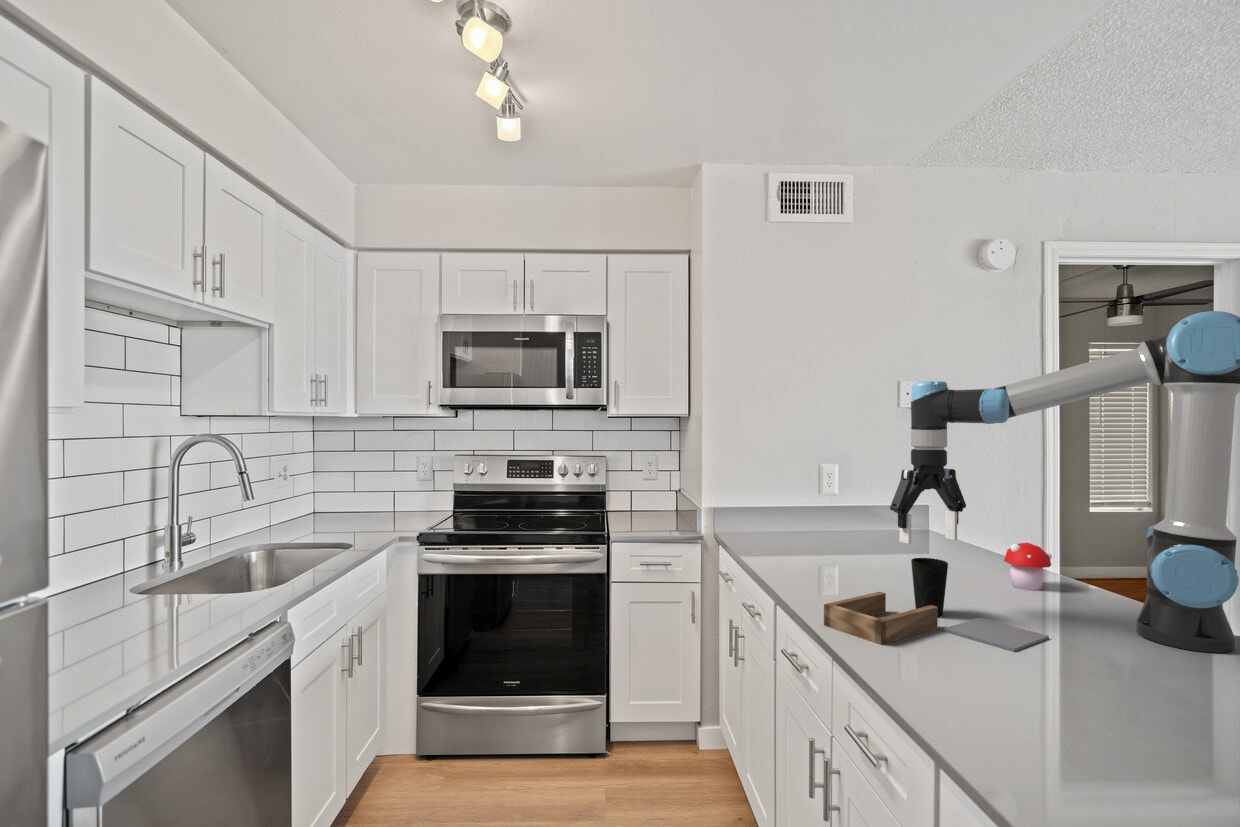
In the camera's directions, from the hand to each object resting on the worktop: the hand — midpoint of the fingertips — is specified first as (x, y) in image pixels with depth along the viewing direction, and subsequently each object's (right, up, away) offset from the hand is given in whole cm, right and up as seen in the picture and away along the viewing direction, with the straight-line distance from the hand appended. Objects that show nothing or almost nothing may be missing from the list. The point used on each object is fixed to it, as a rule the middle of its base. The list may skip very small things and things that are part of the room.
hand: (928, 540), depth 148 cm
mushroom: (+38, -17, +23) cm, 48 cm away
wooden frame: (-15, -17, -10) cm, 24 cm away
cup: (0, -17, 0) cm, 17 cm away
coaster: (+7, -17, -15) cm, 23 cm away
